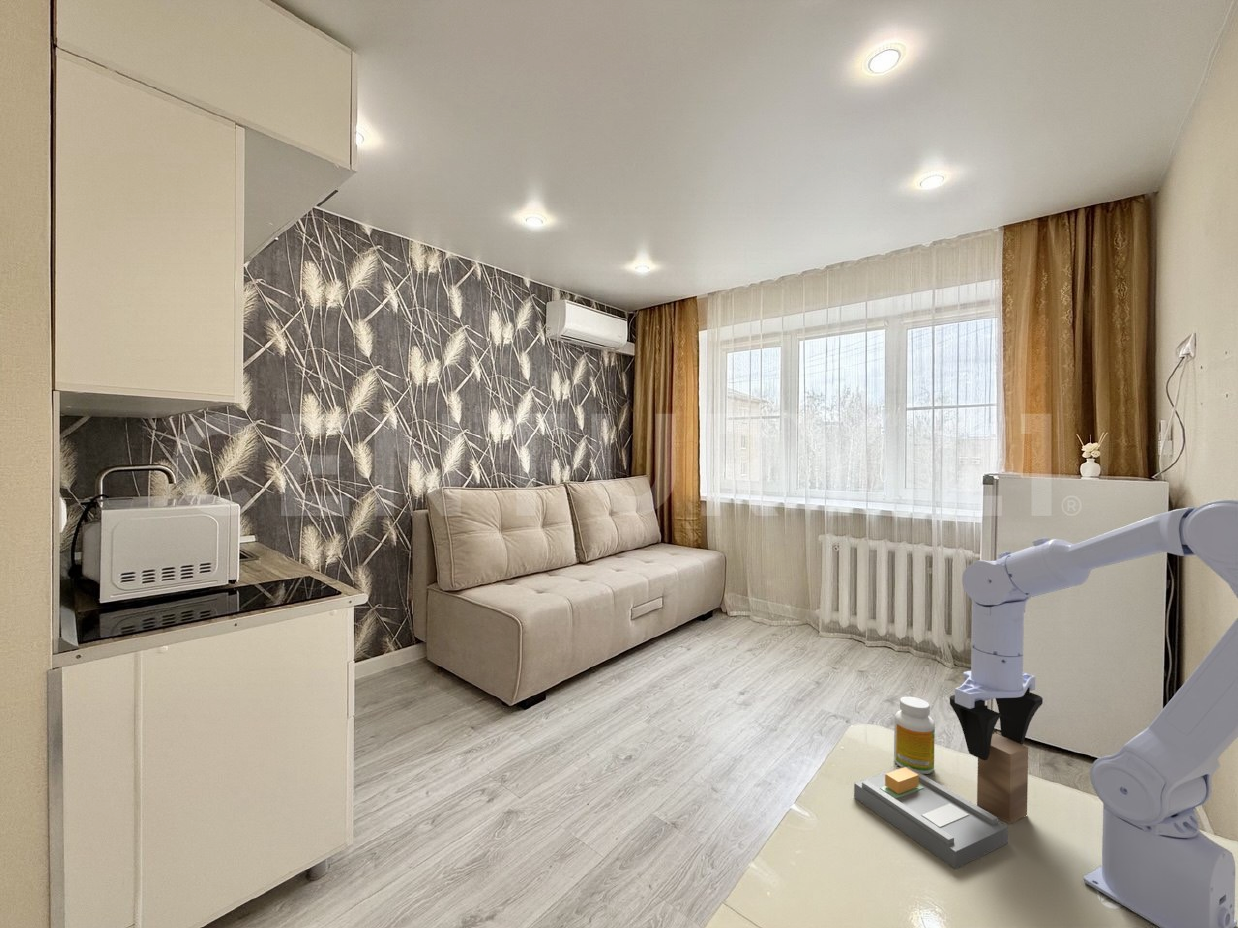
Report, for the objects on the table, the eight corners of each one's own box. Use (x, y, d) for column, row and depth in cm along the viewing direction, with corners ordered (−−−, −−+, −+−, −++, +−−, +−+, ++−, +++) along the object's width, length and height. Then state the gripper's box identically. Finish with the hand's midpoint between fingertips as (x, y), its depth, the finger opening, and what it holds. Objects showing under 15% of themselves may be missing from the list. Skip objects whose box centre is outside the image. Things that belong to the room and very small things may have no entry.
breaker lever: (918, 786, 72) (918, 774, 72) (898, 793, 70) (898, 781, 70) (905, 778, 74) (905, 766, 74) (885, 785, 72) (885, 773, 72)
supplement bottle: (940, 777, 78) (941, 711, 78) (900, 772, 79) (901, 707, 79) (926, 757, 83) (927, 695, 83) (889, 753, 84) (890, 692, 84)
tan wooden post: (1027, 815, 70) (1028, 747, 70) (1009, 823, 68) (1010, 754, 68) (994, 797, 73) (995, 733, 73) (977, 805, 72) (978, 739, 72)
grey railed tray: (1007, 843, 65) (1008, 822, 64) (955, 868, 60) (955, 846, 60) (903, 779, 77) (903, 762, 77) (854, 797, 73) (854, 778, 73)
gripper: (997, 633, 78) (996, 725, 78) (933, 647, 72) (931, 746, 72) (1053, 649, 72) (1051, 749, 72) (987, 665, 66) (986, 774, 66)
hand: (995, 749), depth 71 cm, fingers open, 7 cm apart
